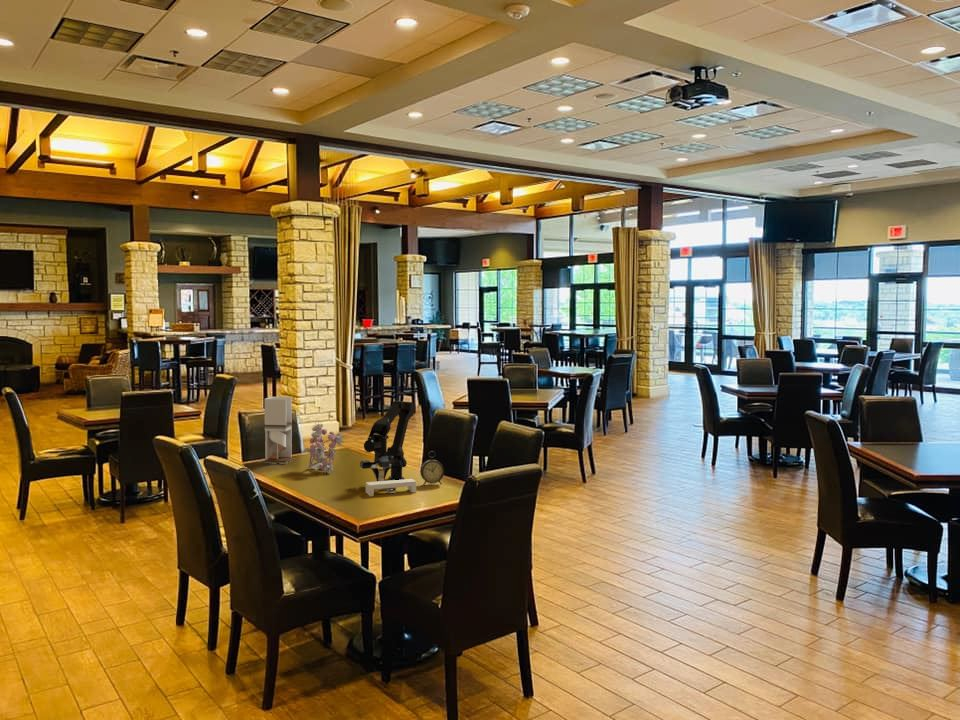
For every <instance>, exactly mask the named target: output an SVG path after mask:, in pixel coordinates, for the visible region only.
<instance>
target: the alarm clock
mask: <svg viewBox="0 0 960 720" xmlns="http://www.w3.org/2000/svg"><path fill="white" fill-rule="evenodd" d="M430 453H434V454H436V452H435V451H434V450H431V451H429V452H428V454H430ZM435 456H436V455H434V456H430V455H428V457H429V458H430V459H427V460H426V461H424V462H423V463H422V465H421V466H420V471H419V472H420V476H421V478H422V479H423V481H424V483H423V484H422V485H423V486H425V484H427V483H428V484H437V483H439V484H440V485H443V484H442V482H441V480H442V479H443V478H444V475H445V468H444V466H443V464H442V463H441V462H440V461H438V460H436V459H433V458H435Z"/></svg>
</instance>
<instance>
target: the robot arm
mask: <svg viewBox="0 0 960 720" xmlns="http://www.w3.org/2000/svg"><path fill="white" fill-rule="evenodd" d="M391 403H392V404H391V406H390V407H389V409H387V411H386V412H385V414H384V415H383V416H382V417H381V418H379V419H377V420H376V421H375V422H374V423H373V425H372V427H371V429H370V431H369V434H368V437H367V440H365V442H364V443H363V449H364V450H365V452H366V453H372V452H374V458H373V461H370V460H368V459H366V460H360V462H359V467H360V468H361V469H370V470H371V471H372V473H373V475H374V478H375V480H376V481H375V482H377V481H378V469H379V468H382V469H383V470H384V481H386V479H385V478H386V476H387V475H388V472H389V470H390V475H389V476H388V477H389V478H388V479H390V480H391V479H392V480H395V479H399V480H402V479H405V477H404V476H403V468H406V467H407V463H408V462H407V460H406V458H405V457H404V456H405V452H404V449H403V445H404V441H405V437H406V433H407V429H408V425H409V424H408V423H409V421H410V419H411V418H412V417H413V416H414V413H415V411H416V404H415V403H414V402H413V401H403V400H402V401H400V400H394V401H392V402H391ZM397 416H398V422H397V425H396V430H395V433H394V437H393V442H392V445H391V446H390V447H389V446H387V445H388V439H389V438H390V437H389V435H388V434H389V432H390V430H391V429H392V428H391V427H392V426H391V425H392V423H393V422H394V420H395V419H396V417H397ZM378 466H379V468H378Z"/></svg>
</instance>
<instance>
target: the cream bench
mask: <svg viewBox="0 0 960 720" xmlns="http://www.w3.org/2000/svg"><path fill="white" fill-rule="evenodd" d="M395 487H396V488H404V487H405V488H406V487H407V491H409V490H410V491H411V492H410V491H409V492H410V493H412V492H413V493H416V492H417V481H416V480H415V479H413V478H404V479H399V480H391V479H390V480H384V481H367V482H365V494H366V493H367V494H368V495H369V496H368V495H367V494H366V495H367V496H368V497H374V494H375V493H374V491H375V490H378V489H383V488H395Z"/></svg>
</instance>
